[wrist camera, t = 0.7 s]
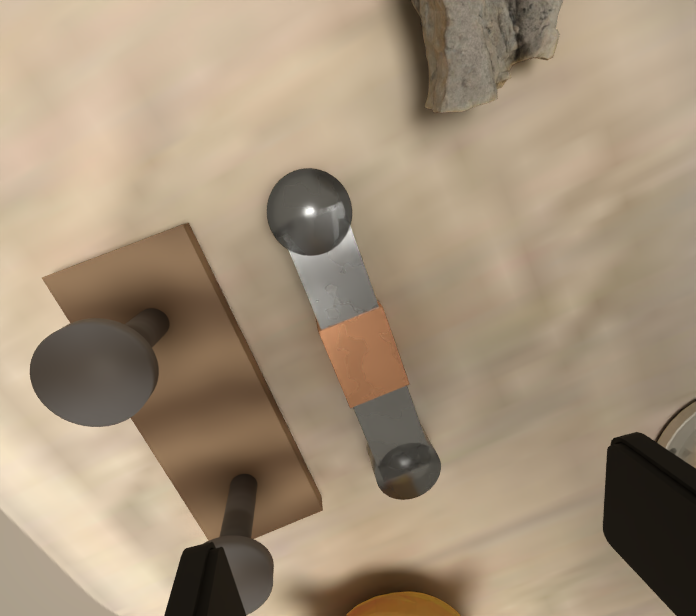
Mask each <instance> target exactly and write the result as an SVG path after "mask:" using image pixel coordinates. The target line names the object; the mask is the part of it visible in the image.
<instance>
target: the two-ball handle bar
mask: <svg viewBox="0 0 696 616" xmlns="http://www.w3.org/2000/svg"><path fill="white" fill-rule="evenodd" d="M267 218H268V223H269V226H270V229H271V231H272V233H273V235H274V236H275V238H276V239H277V240H278V241H279V242H280V243H281V244H282V245H283V246H284V247H285V248H287V249H288V250H289V253H290V255H291V257H292V260H293V262H294V265H295V267H296V270H297V272H298V274H299V277H300V279H301V282H302V284H303V287H304V289H305V291H306V294H307V296H308V299H309V301H310V304H311V306H312V308H313V311H314V313H315V318H316V322H317V327H318V331H319V334H320V336H321V339H322V341H323V344H324V346H325V349H326V351H327V353H328V356H329V358H330V361H331V363H332V365H333V368H334V370H335V373H336V375H337V377H338V380H339V382H340V385H341V387H342V389H343V392H344V394H345V397H346V399H347V402H348V404H349V406H350V408H352V407H353V408H354V410H355V413H356V415H357V418H358V420H359V423H360V425H361V427H362V430H363V432H364V435H365V437H366V439H367V442H368V443H367V451H368V455H369V458H370V461H371V464H372V468H373V471H374V474H375V477H376V481H377V484H378V486H379V488H380V489H381V491H382V492H383V493H385V494H386V495H388V496H389V497H392V498H395V499H401V500H406V499H412V498H416V497H418V496H420V495H422V494H424V493H426V492H427V491H428V490H429V489H431V488H432V487H433V485H434V484H435V483H436V481H437V479H438V477H439V475H440V470H441V463H440V459H439V457H438V455H437V453H436V451H435V449H434V448H433V446H432V444H431V443H430V441H429V439H428V437H427V436H426V434H425V432H424V430H423V429H422V427H421V425H420V422H419V419H418V416H417V413H416V411H415V408H414V405H413V402H412V399H411V396H410V394H409V391H408V388H407V385H409V381H408V378H407V375H406V372H405V370H404V367H403V364H402V361H401V358H400V355H399V352H398V349H397V347H396V344H395V341H394V338H393V335H392V332H391V329H390V327H389V324H388V321H387V318H386V315H385V312H384V309H383V307H382V305H381V304H380V303H379V302H378V301H377V300H376V297H375V294H374V291H373V289H372V286H371V283H370V280H369V277H368V274H367V272H366V269H365V266H364V263H363V260H362V257H361V254H360V252H359V249H358V246H357V243H356V240H355V237H354V235H353V232H352V229H351V226H350V225H351V221H352V206H351V201H350V198H349V196H348V193H347V191H346V190H345V188H344V187H343V185H342V184H341V183H340V182H339V181H338V180H337V179H336V178H335V177H333V176H332V175H330V174H329V173H327V172H324V171H322V170H318V169H311V168H308V169H299V170H296V171H293V172H291V173H289V174H287V175H286V176H284V177H283V178H282V179H281V180H279V182H278V183H277V184H276V185H275V187H274V188H273V190H272V192H271V194H270V196H269V199H268V204H267Z"/></svg>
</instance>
